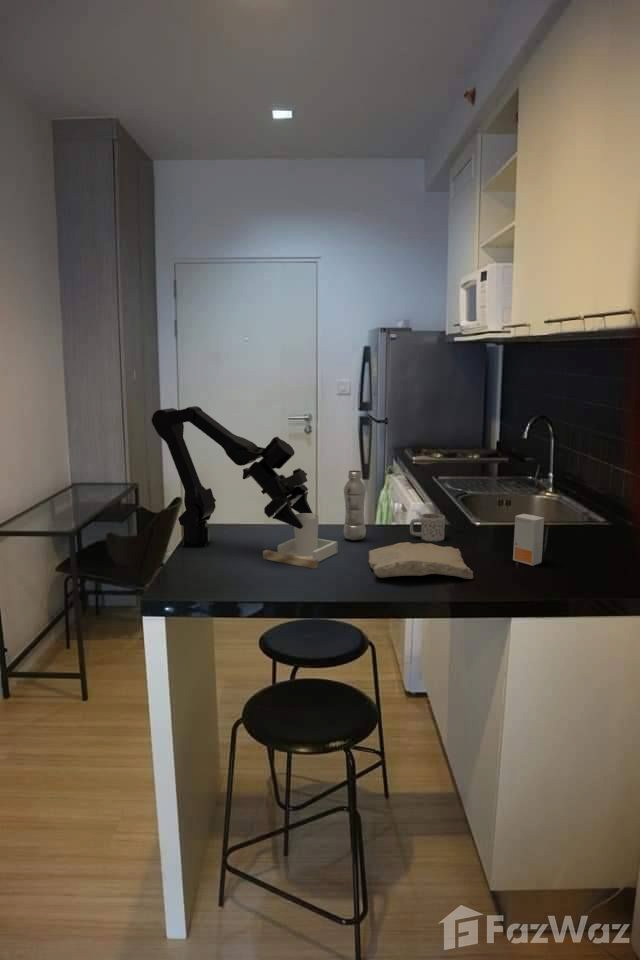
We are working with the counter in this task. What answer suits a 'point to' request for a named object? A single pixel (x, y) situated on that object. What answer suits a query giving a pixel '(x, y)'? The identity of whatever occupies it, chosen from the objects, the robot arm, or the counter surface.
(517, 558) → the skincare box
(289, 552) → the tray
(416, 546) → the beige flat stone slab
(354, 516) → the plastic bottle
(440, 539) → the mug
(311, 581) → the counter surface
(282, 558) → the oak rail
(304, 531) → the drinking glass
